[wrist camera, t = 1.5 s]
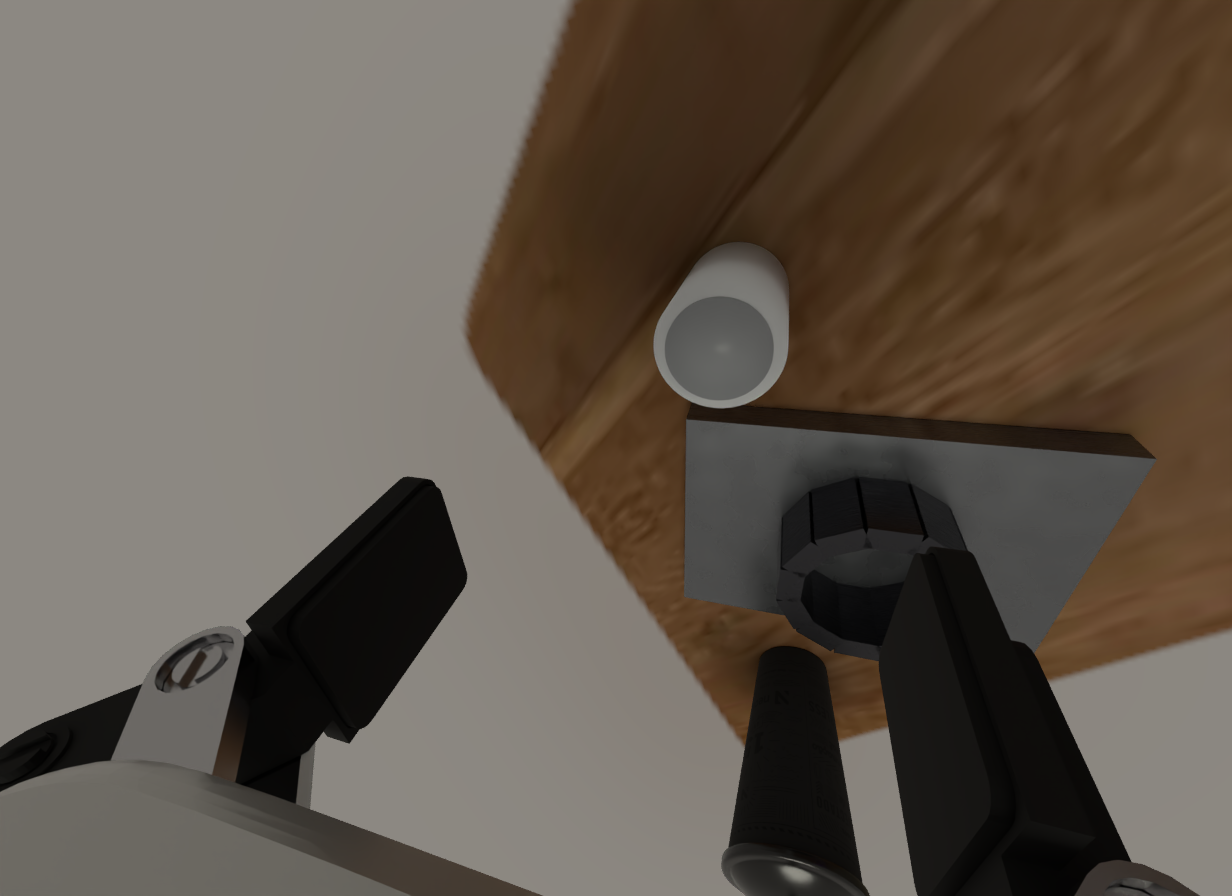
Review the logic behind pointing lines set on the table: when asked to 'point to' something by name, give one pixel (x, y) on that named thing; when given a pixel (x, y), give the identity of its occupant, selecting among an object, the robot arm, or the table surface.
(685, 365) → the white cylinder
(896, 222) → the table surface
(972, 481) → the lens mount
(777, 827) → the drinking cup
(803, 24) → the table surface
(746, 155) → the table surface
